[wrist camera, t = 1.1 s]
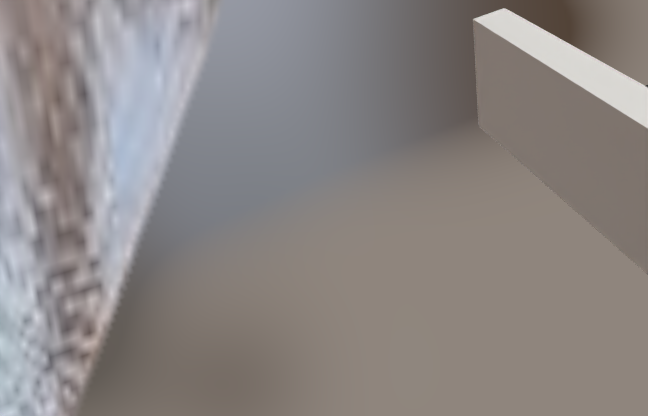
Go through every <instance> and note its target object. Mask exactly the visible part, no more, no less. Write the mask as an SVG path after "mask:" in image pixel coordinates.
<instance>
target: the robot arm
mask: <svg viewBox="0 0 648 416" xmlns="http://www.w3.org/2000/svg"><path fill="white" fill-rule="evenodd" d="M473 27H474V45H475V65H476V84H477V102H478V122H479V127H480V128H482V129H483V130H484V131H485V132H486V133H487V134H488V135H489V136H491V137H492V138H493V139H494V140H495V141H496V142H497V143H499V144H500V145H501V146H502V147H503V148H504V149H505V150H507V151H508V152H509V153H510V154H511V155H512V156H514V158H516V159H517V160H518V161H519V162H520V163H521V164H523V165H524V166H525V167H526V168H527V169H528V170H529V171H530V172H532V173H533V174H534V175H535V176H536V177H537V178H538V179H539V180H541V181H542V182H543V183H544V184H545V185H546V186H547V187H549V188H550V189H551V190H552V191H553V192H554V193H555V194H557V195H558V196H559V197H560V198H561V199H562V200H563V201H564V202H566V203H567V204H568V205H569V206H570V207H571V208H573V209H574V210H575V211H576V212H577V213H578V214H579V215H581V216H582V217H583V218H584V219H585V220H586V221H587V222H589V224H591V225H592V226H593V227H594V228H595V229H596V230H597V231H599V232H600V233H601V234H602V235H603V236H604V237H605V238H607V239H608V240H609V241H610V242H611V243H612V244H613V245H615V246H616V247H617V248H618V249H619V250H620V251H621V252H622V253H624V254H625V255H626V256H627V257H628V258H629V259H631V260H632V261H633V262H634V263H635V264H636V265H637V266H638V267H640V268H641V269H642V270H643V271H644V272H645V273H646V274H648V85H646V86H644V85H642V84H640V83H639V82H637V81H635V80H633V79H631V78H629V77H628V76H626V75H624V74H622V73H621V72H619V71H617V70H615V69H613V68H612V67H610V66H608V65H606V64H604V63H603V62H601V61H599V60H597V59H595V58H594V57H592V56H590V55H588V54H586V53H585V52H583V51H581V50H579V49H577V48H576V47H574V46H572V45H570V44H568V43H567V42H565V41H563V40H561V39H559V38H558V37H556V36H554V35H552V34H550V33H549V32H547V31H545V30H543V29H541V28H539V27H538V26H536V25H534V24H532V23H531V22H529V21H527V20H525V19H523V18H521V17H520V16H518V15H516V14H514V13H513V12H511V11H509V10H507V9H505V8H503V9H501V10H498V11H495V12H492V13H489V14H486V15H484V16H481V17H478V18H475V19H473Z"/></svg>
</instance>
